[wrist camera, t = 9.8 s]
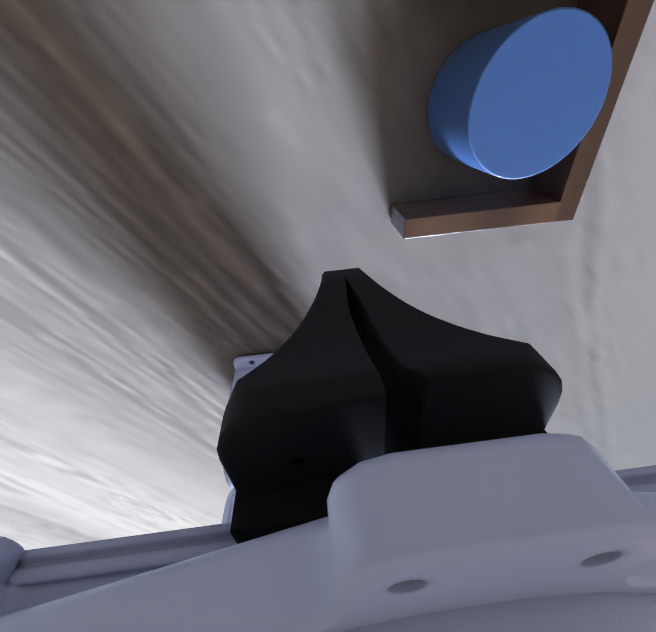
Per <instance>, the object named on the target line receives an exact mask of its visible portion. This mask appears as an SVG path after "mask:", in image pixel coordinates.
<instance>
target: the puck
mask: <svg viewBox="0 0 656 632" xmlns="http://www.w3.org/2000/svg"><path fill="white" fill-rule="evenodd" d="M611 73H612V50H611V43H610V40H609V37H608V34H607V32H606V30H605V28H604V27H603V25H602V24H601V23H600V21H599V20H598V19H597V18H596V17H594V16H593V15H592V14H590V13H589V12H587V11H585V10H582V9H579V8H575V7H558V8H553V9H549V10H546V11H543V12H540V13H537V14H534V15H531V16H528V17H526V18H523V19H520V20H517V21H514V22H511V23H508V24H505V25H502V26H499V27H496V28H493V29H490V30H488V31H485V32H482V33H479V34H477V35H475V36H473V37H471V38H469V39H468V40H467V41H465V42H464V43H462V44H461V45H460V46H459V47H458V48H457V49H456V50H455V51H454V52H453V53H452V54H451V55H450V56H449V58H448V59H447V60H446V62H445V63H444V64H443V66H442V68H441V70H440V71H439V73H438V75H437V77H436V79H435V82H434V84H433V87H432V90H431V94H430V98H429V105H428V124H429V129H430V133H431V136H432V139H433V141H434V143H435V144H436V146H437V147H438V149H439V150H440V151H441V152H442V153H443V154H444V155H446V156H447V157H449V158H451V159H453V160H455V161H458V162H460V163H463V164H465V165H468V166H470V167H473V168H476V169H478V170H481V171H483V172H486V173H488V174H491V175H493V176H496V177H499V178H503V179H521V178H526V177H530V176H533V175H536V174H538V173H540V172H543V171H545V170H546V169H548V168H550V167H552V166H553V165H555V164H556V163H558V162H559V161H560V160H562V159H563V158H564V157H565V156H566V155H568V154H569V153H570V152H571V151H572V150H573V149H574V148H575V147H576V146H577V144H578V143H579V142H580V141H581V140H582V139H583V137H584V136H585V135H586V133H587V132H588V131H589V129H590V128H591V126H592V124H593V123H594V121H595V119H596V118H597V116H598V114H599V112H600V110H601V108H602V105H603V103H604V100H605V98H606V95H607V91H608V88H609V84H610V79H611Z"/></svg>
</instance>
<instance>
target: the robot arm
mask: <svg viewBox="0 0 656 632" xmlns="http://www.w3.org/2000/svg"><path fill="white" fill-rule="evenodd" d="M250 361H254V362H250ZM233 364H234V367H235V375H234V379H233V384H232V389H231V393H230V398H229V401H228V404H227V406H226V409H225V413H224V416H223V420H222V425H221V431H220V436H219V441H218V446H217V452H218V456H219V459H220V461H221V463H222V465H223V470H224V474H225V478H226V481H227V484H228V486H229V487H230V488H231V489H232V490H231V491H230V493H229V495H228V497H227V501H226V505H225V509H224V514H223V519H222V524H217V525H210V526H203V527H195V528H188V529H180V530H173V531H166V532H158V533H151V534H143V535H136V536H129V537H121V538H114V539H106V540H99V541H92V542H84V543H77V544H69V545H62V546H55V547H47V548H40V549H32V550H24V548H23V547H22V546H21V545H19V544H18V543H17V542H15V541H13V540H11V539H9V538H6V537H1V536H0V632H656V465H654V466H647V467H640V468H632V469H625V470H617V471H614V470H613V469H612V467H611V466H610V465H609V464H608V463H607V462H606V460H605V459H604V458H603V457H602V456H601V454H600V453H599V452H598V451H597V450H596V449H595V448H594V447H593V446H592V445H591V444H589V443H588V442H587V441H585V440H584V439H583V438H582V437H580V436H576V435H571V434H547V432H546V431H545V430H544V429H545V427H546V425H547V423H548V421H549V419H550V418H551V416H552V414H553V412H554V410H555V408H556V406H557V404H558V402H559V399H560V396H561V393H562V380H561V378H560V377H559V375H558V374H557V372H556V371H555V370H554V369H553V368H552V367H551V366H550V365H549V364H548V363H547V362H546V361H545V360H544V358H543V357H542V356H541V355H540V354H539V353H538V352H537V351H536V350H535V349H534V348H533V347H532V346H531V345H530V344H528V343H523V342H519V341H514V340H509V339H504V338H500V337H495V336H490V335H486V334H483V333H479V332H476V331H472V330H469V329H465V328H462V327H459V326H456V325H453V324H451V323H448V322H446V321H443V320H440V319H438V318H435V317H433V316H431V315H428V314H426V313H424V312H422V311H420V310H418V309H416V308H414V307H412V306H411V305H409V304H407V303H405V302H404V301H402V300H400V299H399V298H397V297H396V296H394V295H393V294H391V293H390V292H388V291H387V290H385V289H384V288H383V287H381V286H380V285H379V284H378V283H376V282H375V281H374V280H373V279H371V278H370V277H369V276H368V275H367V274H365V273H364V272H363V271H362V270H361V269H359V268H353V269H345V270H336V271H327V272H324V273H323V274H322V280H321V284H320V287H319V290H318V293H317V295H316V297H315V300H314V302H313V304H312V306H311V307H310V309H309V311H308V313H307V315H306V316H305V318H304V319H303V321H302V322H301V324H300V325H299V327H298V328H297V329H296V331H295V332H294V333H293V334H292V335H291V337H290V338H289V339H288V340H287V341H286V342H285V343H284V344H283V345H282V347H281V348H279V349H278V350H277V351H276V352H275V353H268V354H260V355H251V356H243V357H237V358H235V359H234V363H233Z"/></svg>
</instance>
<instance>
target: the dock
mask: <svg viewBox="0 0 656 632" xmlns="http://www.w3.org/2000/svg"><path fill="white" fill-rule="evenodd" d="M653 2H654V0H580V3H579V7H578V8H579V9H582V10H585V11H587V12H589V13H590V14H592V15H593V16H594V17H596V18H597V19H598V20H599V21H600V23H601V24H602V25H603V27H604V28H605V30H606V32H607V34H608V37H609V40H610V43H611V50H612V73H611V79H610V84H609V88H608V91H607V95H606V98H605V100H604V103H603V105H602V108H601V110H600V112H599V114H598V116H597V118H596V119H595V121H594V123H593V124H592V126H591V128H590V129H589V131H588V132H587V133H586V135H585V136H584V137H583V139H582V140H581V141H580V142H579V143H578V144H577V146H576V147H575V148H574V149H573V150H572V151H571V152H570V153H569V154H568V155H566V156H565V157H564V158H563V159H562V160H560V161H559V162H558V163H556V164H555V165H553V166H552V167H550V168H548V169H546V170H545V171H543V172H540V173H538V174H536V175H533V176H532V179H531V182H530V186H529V189H527V190H518V191H509V192H500V193H491V194H482V195H473V196H464V197H455V198H446V199H437V200H428V201H419V202H410V203H401V204H393V205H392V211H391V223H392V224H393V225H394V227H395V228H396V229H397V231H398V232H399V233H400V234H401V236H402V237H403V238H404V239H408V238H417V237H426V236H435V235H443V234H452V233H461V232H470V231H478V230H487V229H496V228H505V227H513V226H522V225H531V224H539V223H548V222H557V221H566V220H573V217H574V215H575V212H576V209H577V207H578V204H579V201H580V199H581V196H582V193H583V190H584V188H585V185H586V182H587V180H588V177H589V174H590V172H591V169H592V166H593V164H594V161H595V158H596V155H597V153H598V150H599V147H600V145H601V142H602V139H603V137H604V134H605V131H606V128H607V126H608V123H609V120H610V118H611V115H612V112H613V110H614V107H615V104H616V101H617V99H618V96H619V93H620V91H621V88H622V85H623V83H624V80H625V77H626V74H627V72H628V69H629V66H630V64H631V61H632V58H633V56H634V53H635V50H636V47H637V45H638V42H639V39H640V37H641V34H642V31H643V29H644V26H645V23H646V20H647V18H648V15H649V12H650V10H651V7H652V4H653Z"/></svg>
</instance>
